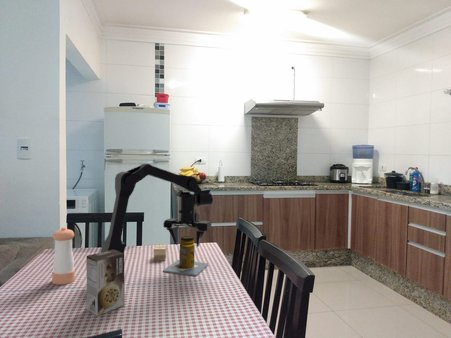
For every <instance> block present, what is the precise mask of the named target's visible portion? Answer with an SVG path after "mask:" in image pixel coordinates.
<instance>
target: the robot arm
mask: <svg viewBox="0 0 451 338" xmlns="http://www.w3.org/2000/svg"><path fill="white" fill-rule="evenodd" d="M147 176H150V177H153V178H157V179H160V180H162V181H165V182H169V183H171V184H173V185H174V186H175V187H177V188H179V189H180V190H179V191H178V192H176V193H175V196H176V197H179V198H180V204H179V205H180V209H178V213H179V215H180V219H179V220H178V219H177V218H171V217H170V218H166V219H165V220H164V221H163V223H162V224H163V228H165V229H166V231H168V232H169V234H170V235H171V238H172V239H173V242H174V244H175V246H177V245H178V244H179V238H178V237H179V234H178V233H179V232H178V231H179V227H186V228H197V230H196V244H195V245H196V248H198V247H200V244H201V240H202V238H203V235H204V234H205V233H206V232H207V231H209V230H211V229H212V223H211V220H210V221H209V220H201V221H200V216H201V214H199V213H197V210H196V208H195V207H205V206H208V207H209V206H211V205H212V203H214V202H213V201H214V197H213V195H212V193H211V189H208V188H204V189H202V188H201V187H200V185H199V184H198V180H197V178H196V177H195V176H190V175H183V174H177V173H174V172H171V171H168V170H166V169H162V168H159V167H157V166H154V165H152V164H150V163H141V164H140V165H138V166H137V167H133V168H131V169H129V170H126V171H120V172H118V173H117V174H115V177H114V190H115V191H114V192H115V201H114V205H113V211H112V214H111V215H112V216H111V221H110V225H109V231H108V235H107V237H106V238H105V240H104V241H103V244H102V246H101V249H100V252H104V251H109V250H117V251H119V252H121V253H124V254H125V249H126V247H127V245H126V243H125V242H124V241H122V236H123V229H124V226H125V221H126V214H127V210H128V205H129V199H130V197H131V195H132V194H133V192H134V190H135V188H136V185H137V183H139V182H140V181H142V180H143V179H145V178H146V177H147ZM195 205H196V206H195Z"/></svg>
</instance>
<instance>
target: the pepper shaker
mask: <svg viewBox="0 0 451 338" xmlns="http://www.w3.org/2000/svg"><path fill="white" fill-rule="evenodd" d="M74 237H75V232H74V231H73V230H72V229H69V228H66V227H61V228H60V229H57V230H55V231H54V232H53V234H52V238H53V240H54V254H53V255H54V256H53V261H52V265H53V266H52V268H53V271H52V274H51V278H52V279H51V282H52V284H53V285H67V284H71V283H73V282H74V281H75V280H76V276H75V275H76V272H75V271H76V269H75V268H74V267H75V265H74V264H75V262H74V261H75V259H74V253H73V239H74Z"/></svg>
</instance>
